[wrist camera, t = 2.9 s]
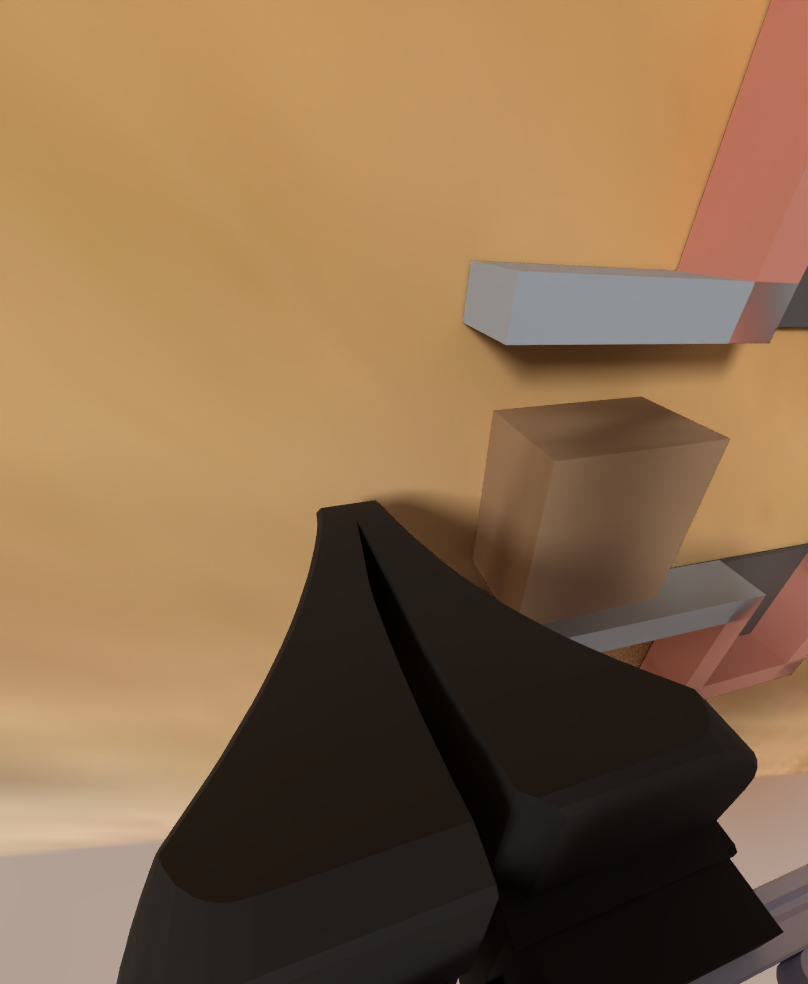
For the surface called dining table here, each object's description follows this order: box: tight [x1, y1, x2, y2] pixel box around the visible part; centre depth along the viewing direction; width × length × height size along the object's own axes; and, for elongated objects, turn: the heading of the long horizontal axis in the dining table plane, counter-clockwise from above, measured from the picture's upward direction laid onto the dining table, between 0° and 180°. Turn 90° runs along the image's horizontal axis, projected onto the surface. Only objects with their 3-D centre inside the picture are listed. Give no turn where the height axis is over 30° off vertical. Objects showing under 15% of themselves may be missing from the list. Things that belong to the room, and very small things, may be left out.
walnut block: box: [473, 397, 730, 624], centre depth 12 cm, size 4×5×3 cm
